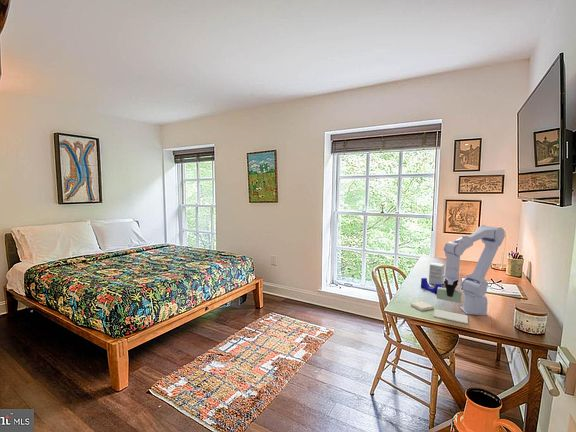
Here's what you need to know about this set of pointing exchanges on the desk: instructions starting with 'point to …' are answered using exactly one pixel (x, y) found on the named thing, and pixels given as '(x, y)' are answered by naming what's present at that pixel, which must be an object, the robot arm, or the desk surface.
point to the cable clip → (426, 286)
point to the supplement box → (436, 273)
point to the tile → (422, 306)
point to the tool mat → (451, 316)
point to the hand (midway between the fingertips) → (450, 295)
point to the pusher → (443, 296)
